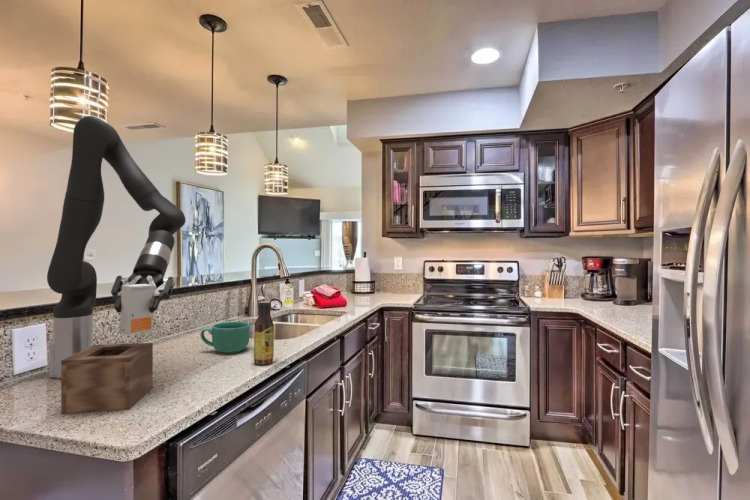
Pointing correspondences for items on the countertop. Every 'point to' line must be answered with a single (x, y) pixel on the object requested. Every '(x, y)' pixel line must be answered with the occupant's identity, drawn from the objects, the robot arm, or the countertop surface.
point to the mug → (228, 336)
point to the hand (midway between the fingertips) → (134, 310)
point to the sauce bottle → (264, 335)
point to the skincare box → (136, 308)
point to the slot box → (106, 377)
